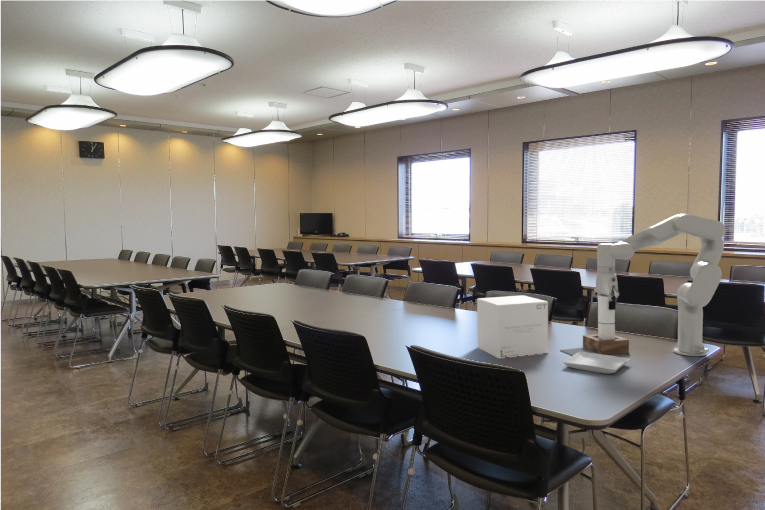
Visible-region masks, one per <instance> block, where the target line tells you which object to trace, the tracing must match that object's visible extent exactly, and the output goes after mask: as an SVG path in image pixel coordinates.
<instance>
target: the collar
mask: <svg viewBox="0 0 765 510" xmlns="http://www.w3.org/2000/svg"><path fill="white" fill-rule="evenodd" d="M582 348H585V349H587V350H590V351H593V352H595V353H598V354H602V355H610V356H611V355H618V354H627V353H630V339H629V338H625V337H622V336H618V335H616V334H615V339H612V340H601V339H598V333H596V334H584V335H582Z"/></svg>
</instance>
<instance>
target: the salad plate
mask: <svg viewBox="0 0 765 510" xmlns="http://www.w3.org/2000/svg"><path fill="white" fill-rule="evenodd" d="M630 360H631V359H630V358H627V357H626V358H625V357H623V356H622V357H621V356H616V355H615V356H614V355H611V354H610V355H602V354H594V353H586V352H578V353H576V354H575V355H573V356H571V355H570V357H567V358H566V359H565V360H563V361H562V363H563V364H564V365H565V366H567V367H569V368H572V369H575V370H581V371H586V372H591V373H598V374H599V373H600V374H604V375H605V374H606V375H607V374H614V373H616V372H617V371H618V370H619V369H621V368H622V367H623V366H625V365H626V364H628V362H630Z"/></svg>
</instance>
